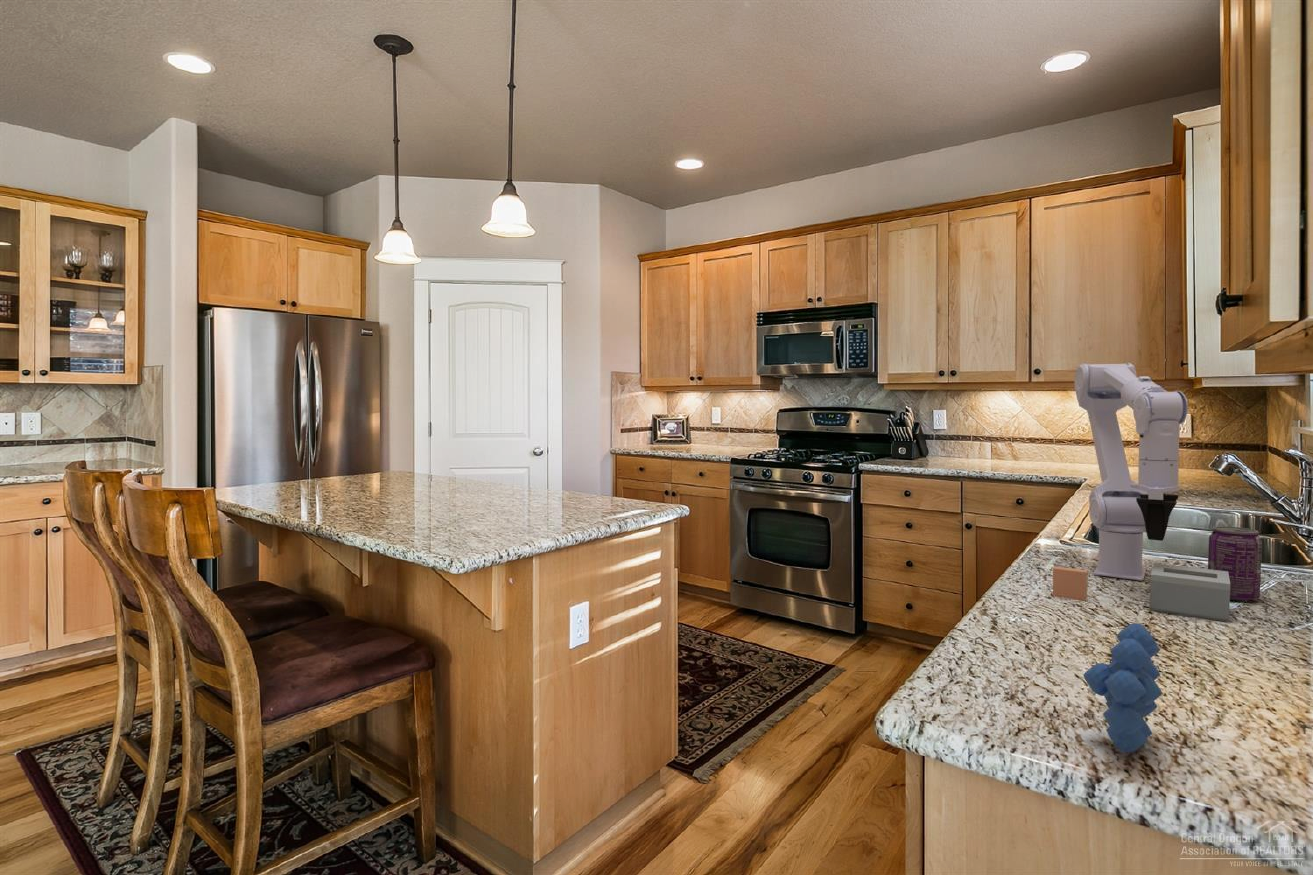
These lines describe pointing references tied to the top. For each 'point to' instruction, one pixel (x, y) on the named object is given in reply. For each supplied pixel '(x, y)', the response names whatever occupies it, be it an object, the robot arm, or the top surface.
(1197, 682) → the top surface
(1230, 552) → the beverage can
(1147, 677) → the grapes
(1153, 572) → the coin box
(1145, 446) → the robot arm
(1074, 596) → the block
